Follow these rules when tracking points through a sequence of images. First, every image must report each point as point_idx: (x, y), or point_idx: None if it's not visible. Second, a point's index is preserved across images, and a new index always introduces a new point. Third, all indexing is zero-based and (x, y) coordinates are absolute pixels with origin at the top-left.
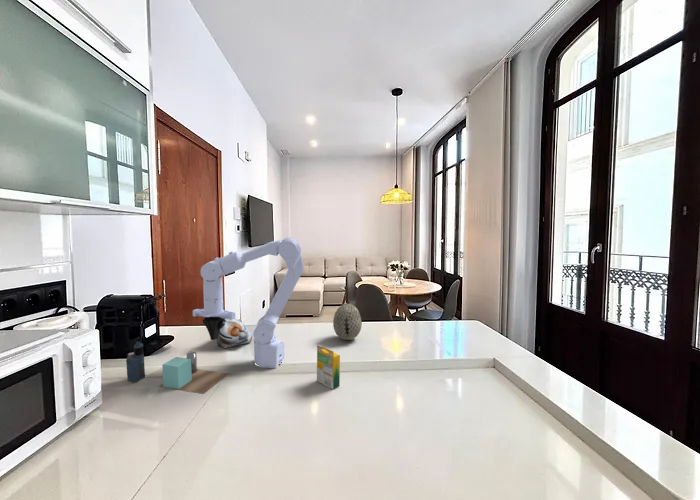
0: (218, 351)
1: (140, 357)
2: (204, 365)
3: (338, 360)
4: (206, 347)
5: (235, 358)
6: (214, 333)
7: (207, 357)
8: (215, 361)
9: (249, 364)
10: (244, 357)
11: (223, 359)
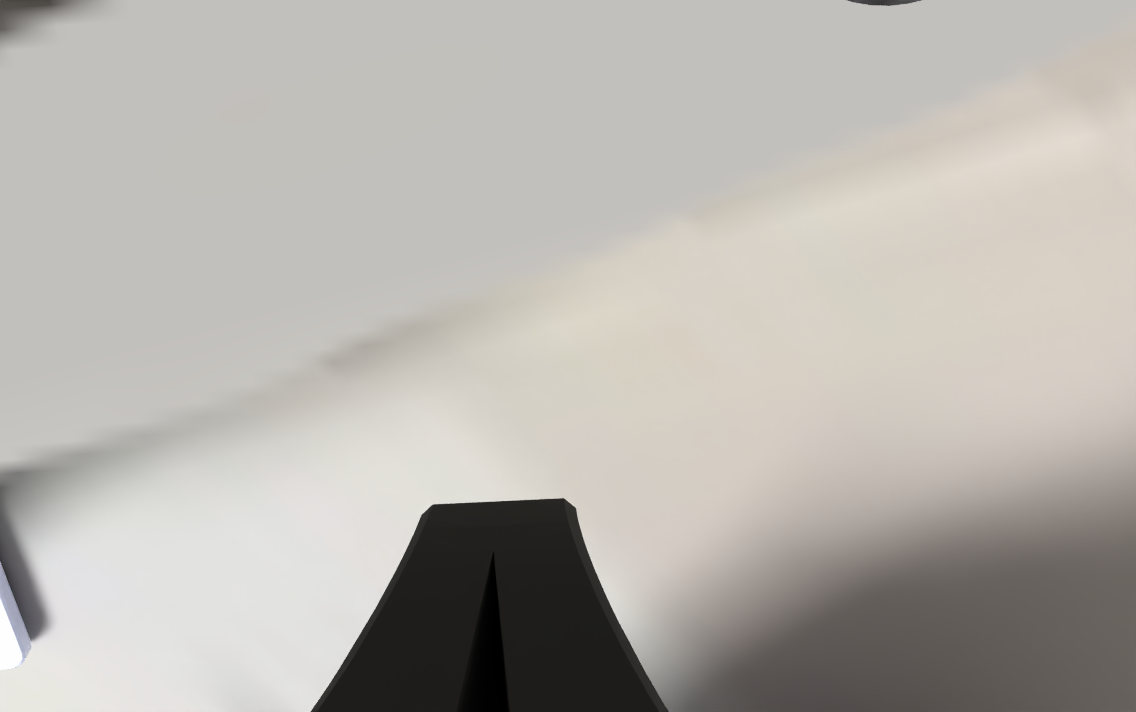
0: (850, 658)
1: None
2: (770, 219)
3: None
4: (1114, 704)
5: None
6: (336, 679)
7: (902, 464)
8: (676, 392)
9: (52, 464)
10: (317, 618)
11: (593, 482)
